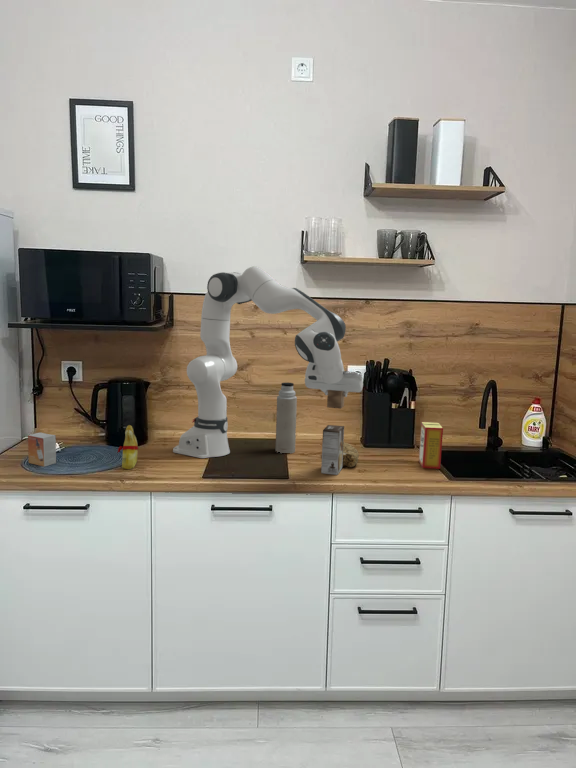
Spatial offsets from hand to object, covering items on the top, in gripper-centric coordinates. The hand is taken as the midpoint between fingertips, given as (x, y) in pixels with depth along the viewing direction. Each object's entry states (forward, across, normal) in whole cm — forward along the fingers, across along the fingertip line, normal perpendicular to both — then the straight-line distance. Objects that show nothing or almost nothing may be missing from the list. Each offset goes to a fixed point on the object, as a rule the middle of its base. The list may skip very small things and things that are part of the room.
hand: (336, 394), depth 207 cm
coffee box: (+19, 0, +21) cm, 28 cm away
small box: (-5, +99, +45) cm, 109 cm away
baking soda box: (+35, -33, +5) cm, 48 cm away
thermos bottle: (+32, +24, +8) cm, 40 cm away
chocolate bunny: (+2, +70, +38) cm, 80 cm away
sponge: (+30, 0, +11) cm, 31 cm away
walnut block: (+3, 0, +4) cm, 4 cm away
